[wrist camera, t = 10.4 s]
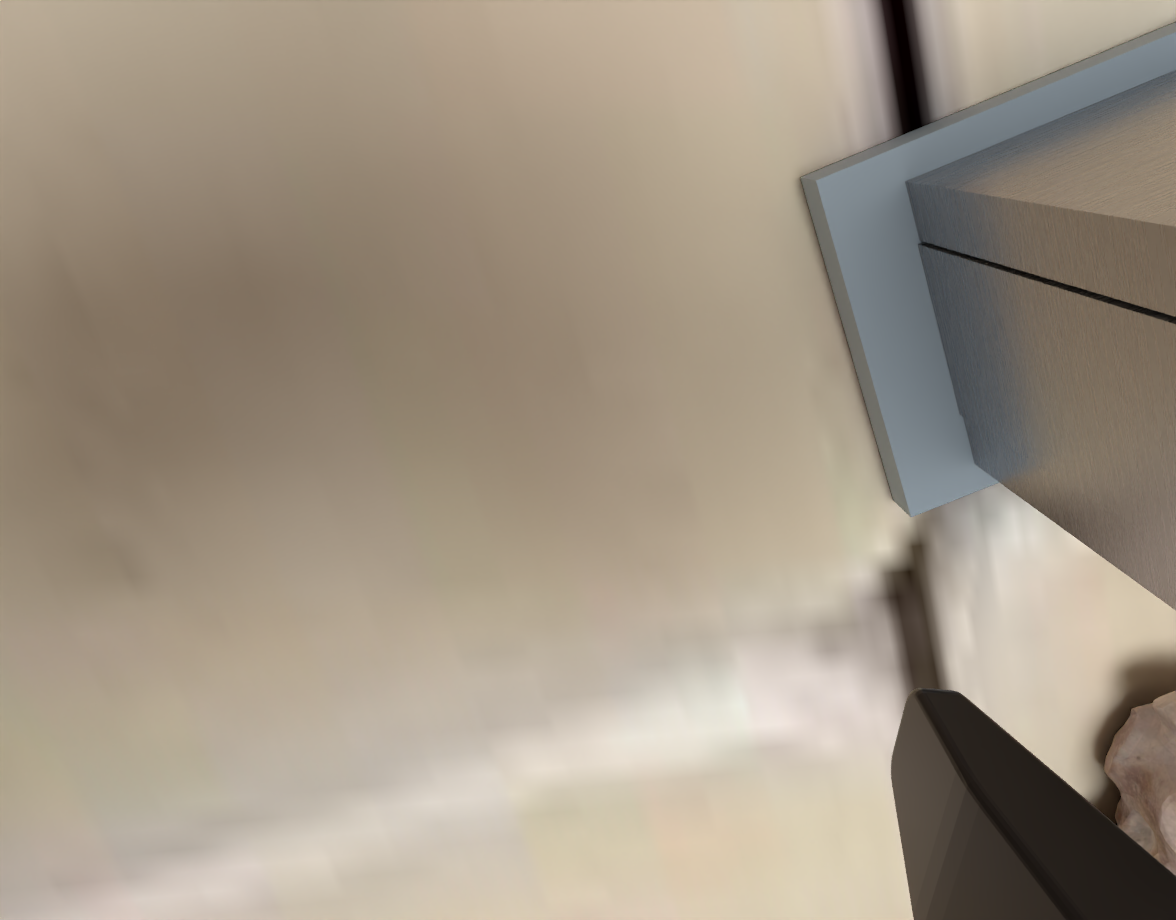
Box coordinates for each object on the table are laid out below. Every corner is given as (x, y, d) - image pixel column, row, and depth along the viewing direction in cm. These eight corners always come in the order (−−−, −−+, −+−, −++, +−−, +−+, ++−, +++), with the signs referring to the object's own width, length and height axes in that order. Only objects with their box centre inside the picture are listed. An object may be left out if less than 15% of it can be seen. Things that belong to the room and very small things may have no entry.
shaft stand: (893, 500, 22) (987, 590, 18) (800, 177, 19) (886, 196, 15) (1292, 341, 22) (1484, 396, 18) (1258, -13, 19) (1479, -49, 15)
